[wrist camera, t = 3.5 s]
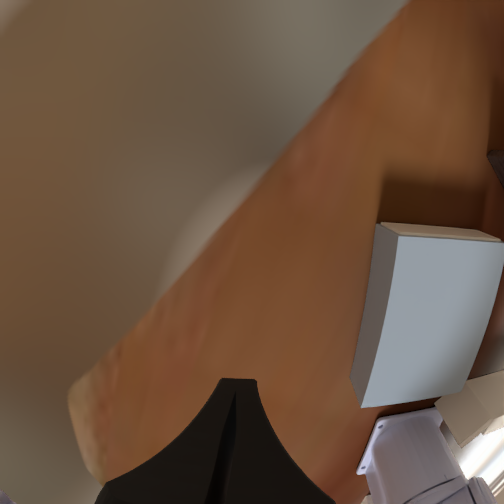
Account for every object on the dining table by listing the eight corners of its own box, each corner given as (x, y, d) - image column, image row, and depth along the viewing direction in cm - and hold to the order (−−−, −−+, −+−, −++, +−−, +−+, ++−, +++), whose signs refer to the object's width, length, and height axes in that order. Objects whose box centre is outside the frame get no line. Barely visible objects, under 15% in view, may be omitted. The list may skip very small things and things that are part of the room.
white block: (441, 365, 22) (461, 391, 18) (348, 374, 22) (360, 407, 18) (475, 228, 19) (507, 241, 15) (374, 220, 19) (399, 233, 15)
